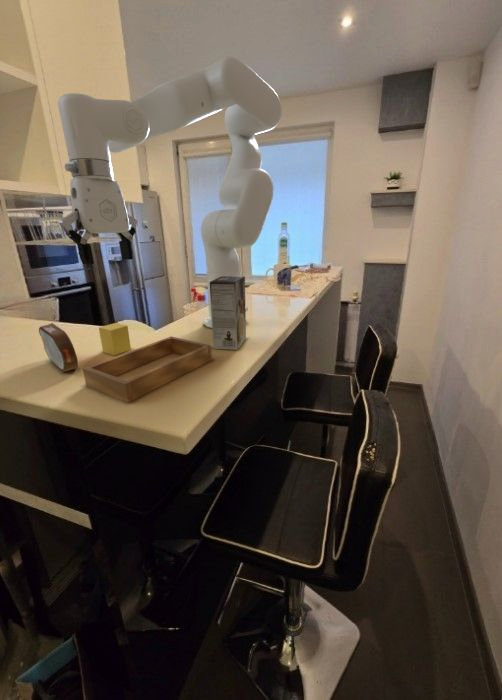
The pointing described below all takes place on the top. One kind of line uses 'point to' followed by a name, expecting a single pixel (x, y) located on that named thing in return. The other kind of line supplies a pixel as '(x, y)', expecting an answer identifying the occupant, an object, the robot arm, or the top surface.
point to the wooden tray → (105, 371)
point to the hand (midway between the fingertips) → (108, 261)
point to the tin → (58, 347)
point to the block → (115, 338)
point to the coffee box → (228, 312)
